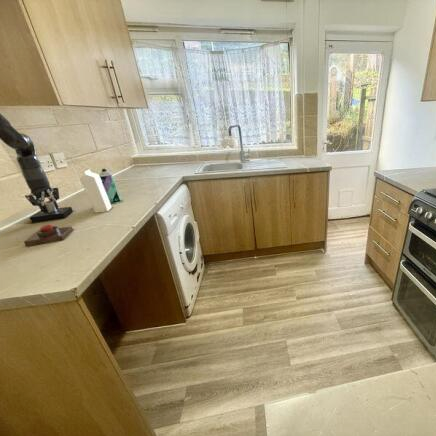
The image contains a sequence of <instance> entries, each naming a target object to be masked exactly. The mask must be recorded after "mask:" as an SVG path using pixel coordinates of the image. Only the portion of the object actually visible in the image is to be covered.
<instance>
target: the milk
mask: <svg viewBox="0 0 436 436" xmlns="http://www.w3.org/2000/svg"><path fill="white" fill-rule="evenodd" d="M80 182H81V184H82V187H83V188H84V191H85V194H86V195H87V199H88V200H89V203H90V204H91V207H92V209H93V212H94V213H95V214H96V213H105V212H109V211H110V210H111V208H112V203H110V200H109V198H108V195H107V193H106V190H105V188H104V185H103V183H102V180H101V178H100V175H99V173H95V172H93V171H91V169H90V168H89V169H87V170H85V171H84V175H83V176H81V178H80Z"/></svg>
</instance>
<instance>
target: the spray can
mask: <svg viewBox="0 0 436 436" xmlns="http://www.w3.org/2000/svg"><path fill="white" fill-rule="evenodd" d="M98 175H99V177H100V179H101V182H102V184H103V187H104V189H105V192H106V194H107V197H108V199H109V202H110V204H116V203H120V202H122V198H121V195H120V193H119V190H118V188H117V187H118V186H117V184H116V182H115V179H114V177H113V173H112V172H111V171H108V170H107V169H106V168H101V172H100V173H98Z"/></svg>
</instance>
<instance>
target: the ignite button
mask: <svg viewBox="0 0 436 436" xmlns="http://www.w3.org/2000/svg"><path fill="white" fill-rule="evenodd" d="M52 226H53V225H52V224H46V225H42V226H40V227H39V230H41V232H47V231H50V230H53V227H52Z"/></svg>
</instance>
